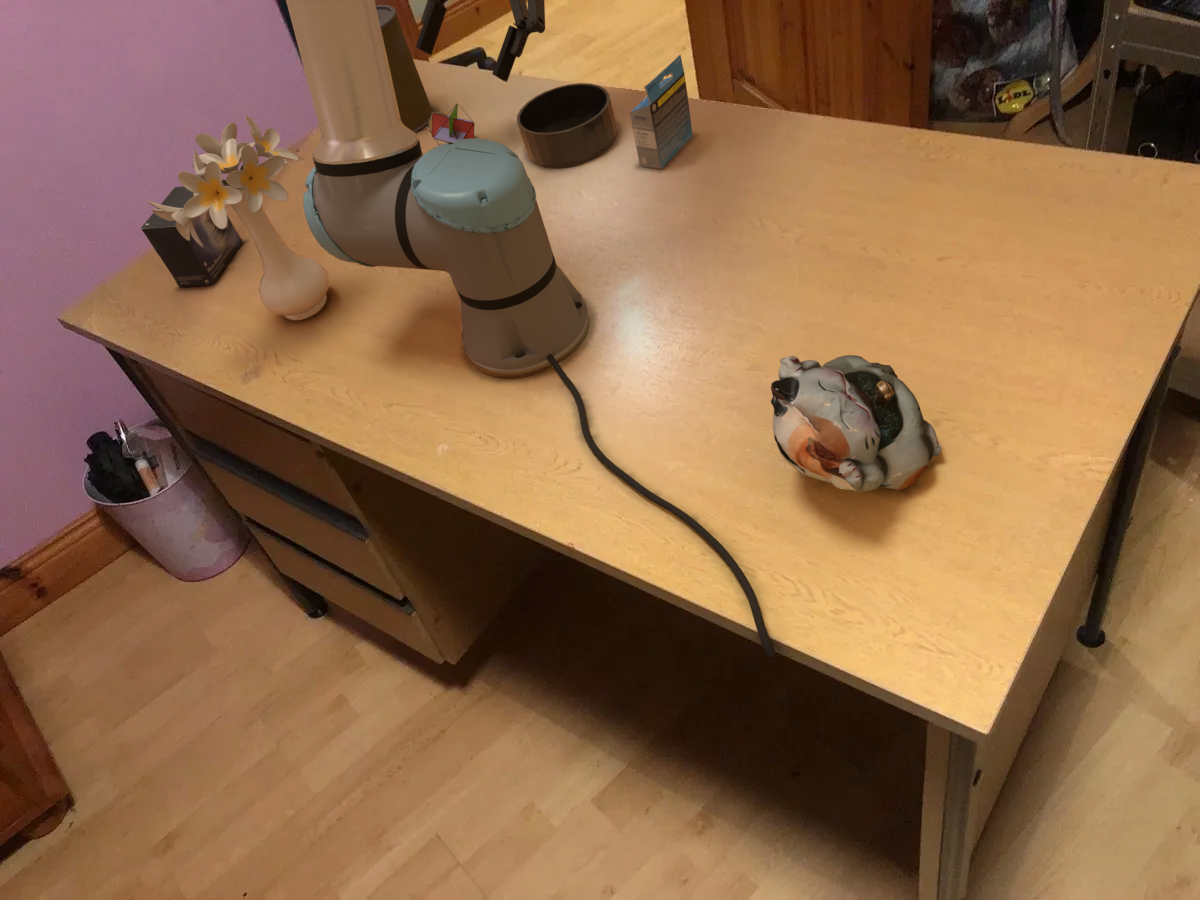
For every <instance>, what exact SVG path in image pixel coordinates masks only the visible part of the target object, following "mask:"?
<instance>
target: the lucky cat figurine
mask: <svg viewBox="0 0 1200 900" xmlns="http://www.w3.org/2000/svg"><path fill="white" fill-rule="evenodd" d="M779 363H780V367H779V369H778V379H777V380H773V381H772V383H770V385H771V386H770V391H771V394H772V397H771V399H770V404H771V405H772V408H773V414H772V416H773V417H772V430H773V438H774V442H775V443H776V446H777V449H778V451H779V453H780V454H781V456H782V458H783V460H784V461H785V462H786V463H787V464H789V465H790V466H792V467H793V468H794V469H795V470H796V471H798V472H799V473H801V474H802V475H803V476H805V477H810V478H813V479H816V480H819V481H821V482H825V483H829V484H832V486H834V487H835V488H837V489H841V490H848V491H852V492H855V493H857V492H858V493H860V492H868V491H873V490H879V489H883V488H885V489H890V490H891V489H892V490H897V491H903V490H905V489H910V488H911V487H912V486H914V485H915V483H916V482H917V481H918V480H919V478H920V477H921V476H922V475H923V473H924V472H925V471H926V470H927V469H928V468H929V462H930V461H932V459H933V458H936V457H939V456H940V454H941V452H942V450H943V449H942V446H941V444H940V442H939V440H938V436H937V433H936V429H935V428H934V427H933V425H932V424H931V423H930V422H928V421H927V420H926V419H924V416H923V413H922V409H921V406H920V403H919V401H918V399H917V398H916V396H915V394H914V393H913V391H912V390H911V389H910V388H909V387H908V386H907V384H905V382H904V381H903V380H902V379H900V378H899V377H898V375H897V374H896V372H895V370H894V368H893V367H892V366H891V365H890V364H883V363H879V362H870V361H868V360H867V359H865V358H864V357H862V356H860V355H854V354H849V355H848V354H847V355H846V354H845V355H841V356H837V357H835V358H833V359H831V360H829V361H827V362H825V363H824V364H823V365H821V363H820V362H819V361H817V360H814V359H806V360H802V361H800V359H799V358H798V357H797V356H794V355H791V356H786V357H783V358H781V359H780V360H779Z"/></svg>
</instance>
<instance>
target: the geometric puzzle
mask: <svg viewBox="0 0 1200 900" xmlns="http://www.w3.org/2000/svg"><path fill="white" fill-rule="evenodd" d="M453 106H454V107H453V109H451V110H450V111H449V112H448V113H447V114H445V113H442V112H440V111H439V110H436V111H435V110H434V112H432V115H431V118H430V121H429V124H428V127H429V131H430V134H431V137H432V140H435V142H436V143H437V144H438V146H440V145H441V144H439V141H441V142H445V143H448V144H454V143H455V141H456V140H461V139H470V138H475V124H476V122H474V120H472V118H471V117H470V116H469V114H468V113H466V111H465V110H464V109H463V108H461V110H463V112H464V113H465V114H466V116H467V117H468V119H464V118H460V117H458V107H459V106H460V105H459V102H457V103H455V104H453ZM447 108H448V106H447V107H445V109H447ZM469 119H470V120H469Z"/></svg>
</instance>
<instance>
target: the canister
mask: <svg viewBox="0 0 1200 900" xmlns="http://www.w3.org/2000/svg"><path fill="white" fill-rule="evenodd" d="M376 9H377V13H378V18H379V23H380V27H381V32H382V36H383V41H384V45H385V50H386V55H387V59H388V64H389V68H390V73H391V78H392V82H393V87H394V91H395V96H396V100H397V105H398V110H399V114H400V119H401V122H402V123H403V124H404V126H406V127H407V128H409V129H410V130H411V131H413V132H414V133H417V132H419V131H420V130H422V129H423V128H425V127H427V126H429V121H430V118H431V115H432V112H435V110H434V108H433V107H432V105H431V103H430V100H429V98H428V97H429V96H428V94H427V92H426V90H425V87H424V83H423V81H422V79H421V77H420V74H419V71H418V69H417V66H416V64H415V60H414V59H413V55H412V53H411V51H410V48H409V45H408V43H407V40H406V38H405V37H406V36H405V35H404V32H403V30H402V27H401V25H400V22H399V19H398V17H397V11H396V8H395V7H394V6H392V5H390V4H376Z"/></svg>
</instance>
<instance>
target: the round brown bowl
mask: <svg viewBox="0 0 1200 900" xmlns="http://www.w3.org/2000/svg"><path fill="white" fill-rule="evenodd" d="M611 98H612V97H611V94H610V93H609V91H608V90H607V89H606V88H605V87H603V86H601V85H599V84H594V83H587V82H578V83H568V84H564V85H561V86H556V87H554V88H551V89H548V90H546V91H543V92H541V93H540V94H538V95H536V96H534V97H532V98H531V99H530V100H528V101H527V102H526V103H525V104H524V105H522V107H521V108H520V109H519V111H518V112H517V116H516V125H517V128H518V132H519V135H520V137H521V141H522V144H523V147H524V151H525V153H526V156H527V159H528V160H529V161H530V162H531V163H532V164H534V165H535V166H538V167H541V168H545V169H565V168H570V167H571V168H572V167H576V166H579V165H582V164H586V163H587V162H590V161H592V160H594V159H597V158H598V157H600V156H601V155H603V154H604V153H606V152H607V151H608V150H609V149H610V148H611V147H613V144H614V143H615V142H616V140H617V138H618V135H619V131H618V124H617V120H616V115H615V111H614V110H615V109H614V107H613V102H612V99H611Z"/></svg>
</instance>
